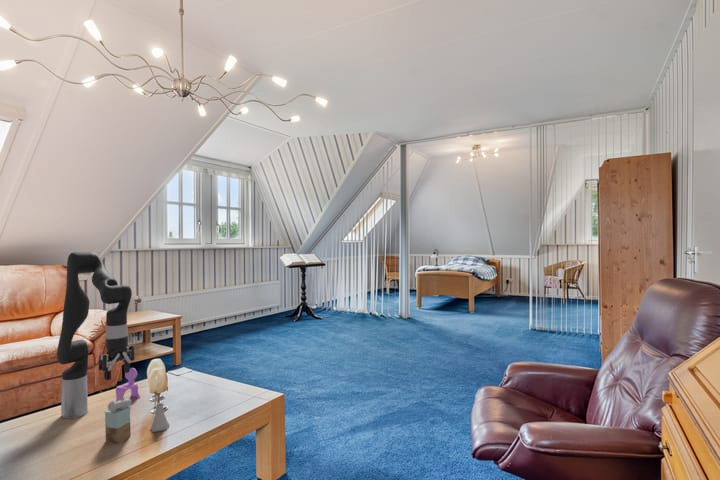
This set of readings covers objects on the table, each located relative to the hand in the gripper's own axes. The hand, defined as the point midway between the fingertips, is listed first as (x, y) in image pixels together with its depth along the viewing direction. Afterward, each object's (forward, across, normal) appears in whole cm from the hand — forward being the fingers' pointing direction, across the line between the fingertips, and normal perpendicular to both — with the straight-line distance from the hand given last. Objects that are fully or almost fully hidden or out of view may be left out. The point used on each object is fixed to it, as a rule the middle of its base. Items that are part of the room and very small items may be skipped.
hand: (117, 376), depth 160 cm
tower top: (+19, 0, 0) cm, 19 cm away
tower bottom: (+25, 0, 0) cm, 25 cm away
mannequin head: (+14, 0, 0) cm, 14 cm away
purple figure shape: (+26, -31, -28) cm, 49 cm away
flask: (+26, -12, +9) cm, 30 cm away
